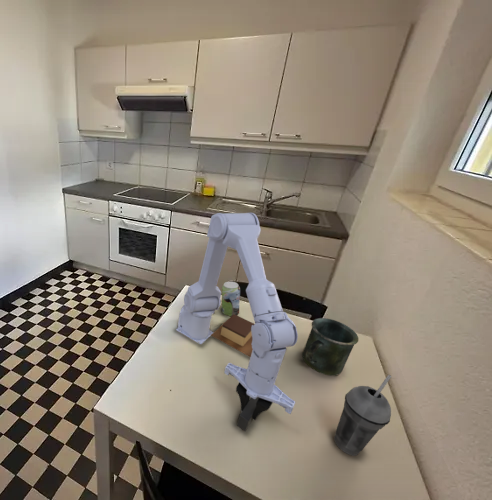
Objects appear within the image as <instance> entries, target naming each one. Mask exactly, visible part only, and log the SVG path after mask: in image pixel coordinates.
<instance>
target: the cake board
mask: <svg viewBox="0 0 492 500" xmlns="http://www.w3.org/2000/svg"><path fill="white" fill-rule="evenodd" d="M224 323H225V322H223V323H222V324H221V325H220V326H219V327H217V329H216V330H214V331H213V334H212V335H211V336H210V337H213V338H215V339H217V340H218V341H220V342H222V343H224V344H226V345H227V346H229V347H231V348H233V349H235V350H236V351H238V352H240V353H243V354H244V356H245V355H246V356H247V357H249V358H250V357H251V354H252V350H253V349H252V345H251V344H252V336H251V337H250V339H249V340H248V341H247V342H246V343H245V344H244V346H241V345H239V344H237V343H235V342H233V341H231V340H230V339H228V338H226V337H224V336H222V335H220V334H221V330H222V325H223V324H224Z"/></svg>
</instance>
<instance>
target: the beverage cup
mask: <svg viewBox="0 0 492 500" xmlns="http://www.w3.org/2000/svg"><path fill="white" fill-rule="evenodd" d="M391 378H392V375H391V374H388V375H387V376H386V378H385V379H384V380H383V381H382V383H381V384H380V386H379V387H378V389H375V388H373V387H371V386H367V385H358V386H354V387H352V388H351V389H350V390H349V391H348V392H347V393H346V394H345V396H344V404H343V408H342V412H341V415H340V418H339V420H338V424H337V426H336V430H335V434H334V437H333V440H334V443H335V444H336V446H337V447H338V448H339V449H340V450H341V451H342V452H344V454H346V455H349V456H353V457H355V456H358V455H359V454H360V452H363V450H364V449H365V448H366V446H367V445H368V444H369V443H370V441H371V440H372V439H373V438H374V437H375V435H377V433H378V432H379V431H380V430H382V429H383V428H385V426H387V425H388V424H389V423H390V422H391V417H392V407H391V405H390V403H389V400H388V399H387V398H386V396H385V395H384V394H383V393H382V391H383V390H384V388H385V387H386V385H387V384H388V382H389V381H390V380H391Z"/></svg>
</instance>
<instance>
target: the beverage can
mask: <svg viewBox="0 0 492 500" xmlns="http://www.w3.org/2000/svg"><path fill="white" fill-rule="evenodd" d="M240 300H241V287H240V286H239V284H238V283H237V282H235V281H226V282H224V283H223V284H222V287H221V313H223V315H225V316H229V317H231V316H232V315H233V314H235V315H237V316H239V314H240V306H241V305H240V304H241V303H240V302H241V301H240Z"/></svg>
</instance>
